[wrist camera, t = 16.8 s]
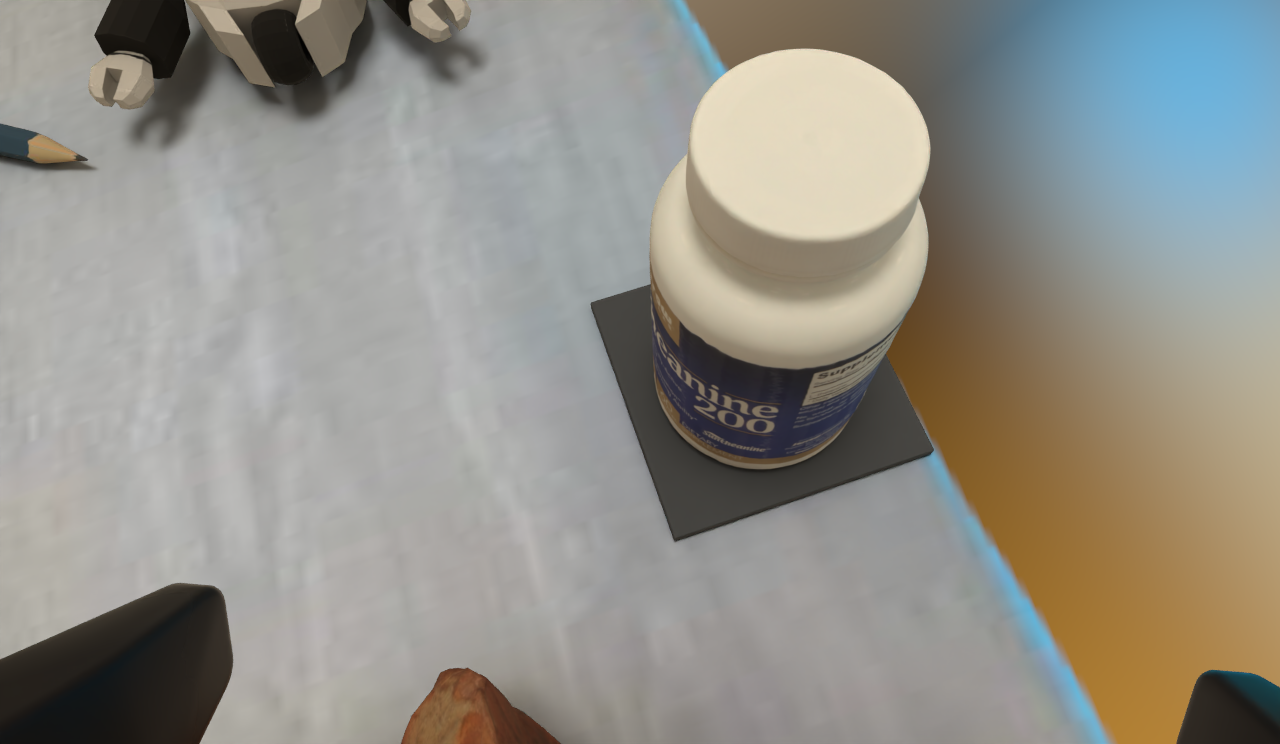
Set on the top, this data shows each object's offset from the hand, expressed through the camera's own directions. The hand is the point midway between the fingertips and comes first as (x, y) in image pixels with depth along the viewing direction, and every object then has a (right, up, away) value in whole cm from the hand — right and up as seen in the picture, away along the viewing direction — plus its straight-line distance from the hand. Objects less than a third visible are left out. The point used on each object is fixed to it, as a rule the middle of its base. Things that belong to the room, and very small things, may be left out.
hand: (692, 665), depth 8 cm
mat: (+3, +3, +16) cm, 16 cm away
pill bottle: (+3, +3, +15) cm, 16 cm away
